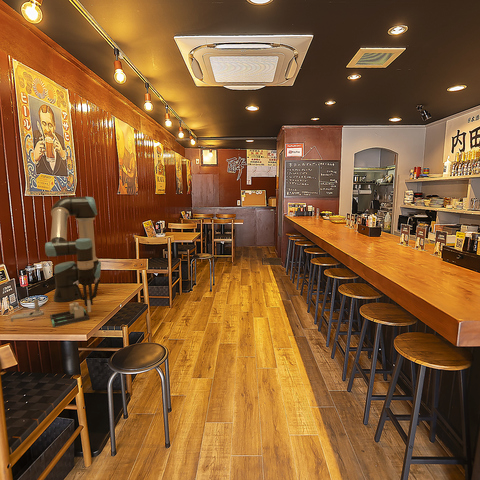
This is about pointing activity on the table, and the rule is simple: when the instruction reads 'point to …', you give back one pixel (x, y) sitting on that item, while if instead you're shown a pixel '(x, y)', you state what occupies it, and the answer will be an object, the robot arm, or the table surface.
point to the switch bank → (66, 318)
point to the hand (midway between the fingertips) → (89, 311)
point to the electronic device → (30, 314)
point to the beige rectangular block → (73, 307)
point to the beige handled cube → (78, 312)
